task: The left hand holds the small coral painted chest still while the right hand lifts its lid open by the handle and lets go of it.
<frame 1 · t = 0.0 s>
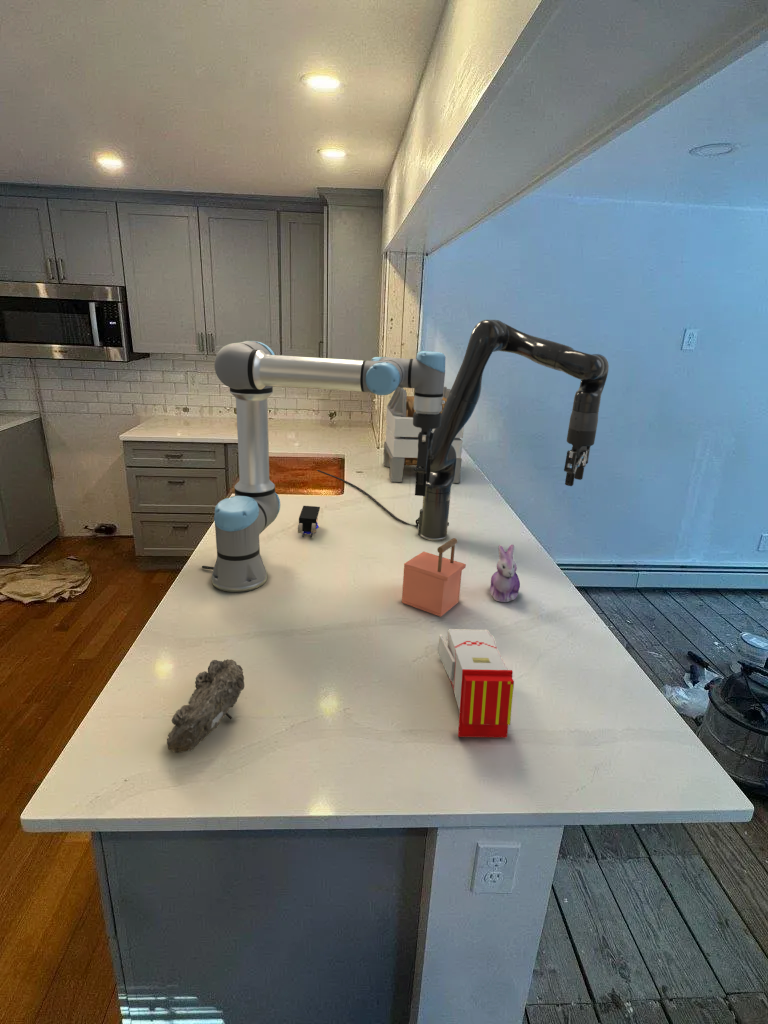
left hand: (422, 488, 158), 28 cm above the counter, tool pointing down, fingers open, 13 cm apart
right hand: (573, 482, 165), 29 cm above the counter, tool pointing down, fingers open, 8 cm apart
chest: (430, 602, 154), on the counter
figurine character: (309, 532, 198), on the counter
figurine: (504, 595, 160), on the counter
toy: (469, 691, 119), on the counter
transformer: (419, 473, 275), on the counter
lid: (435, 553, 149), point 15 cm above the counter, hinge at 0.0°
fossil: (212, 717, 108), on the counter
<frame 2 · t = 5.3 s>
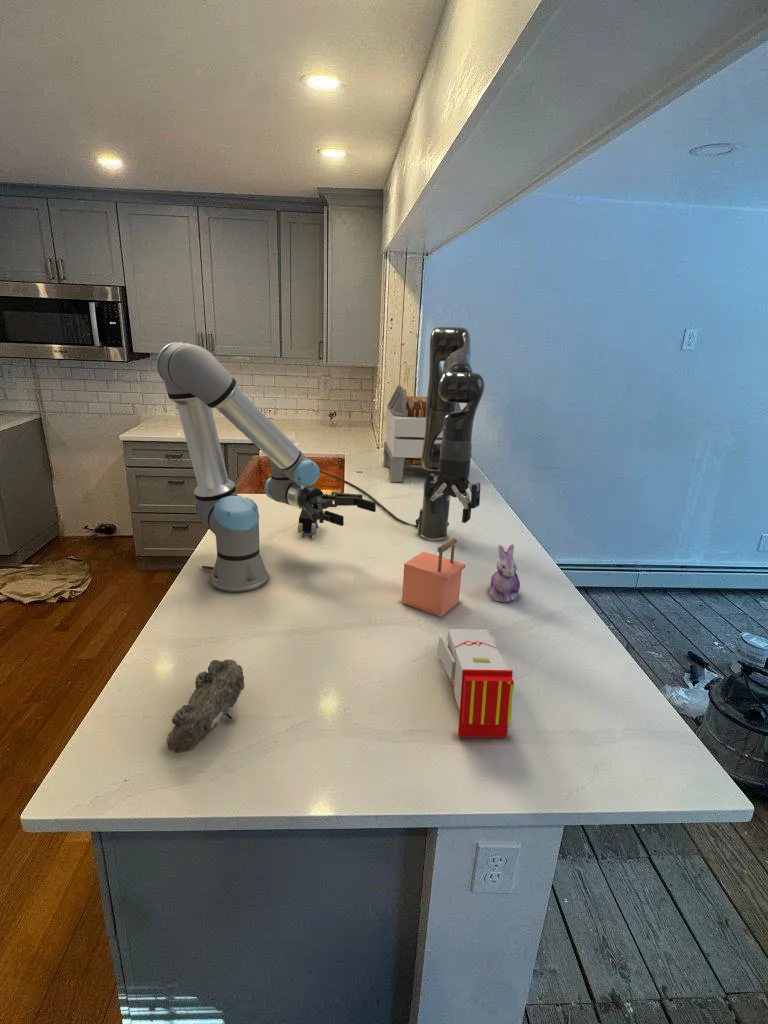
left hand: (359, 514, 158), 20 cm above the counter, tool horizontal, fingers open, 13 cm apart
right hand: (449, 518, 144), 25 cm above the counter, tool pointing down, fingers open, 8 cm apart
nothing on the counter moved.
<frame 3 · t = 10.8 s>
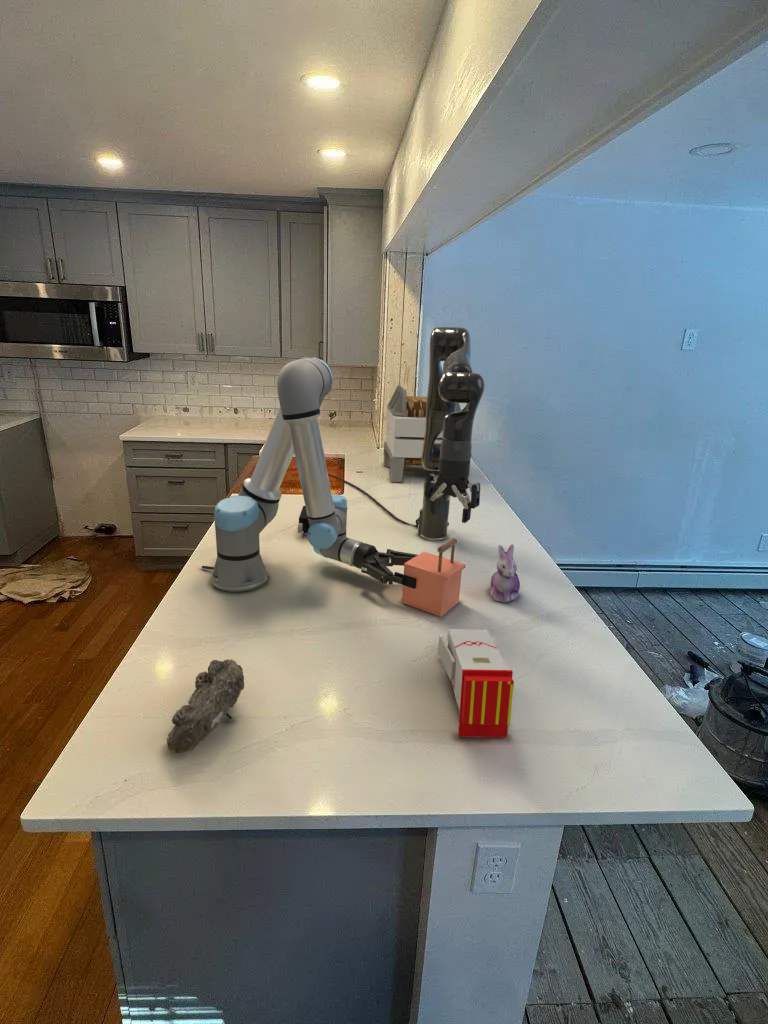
left hand: (425, 576, 153), 7 cm above the counter, tool horizontal, fingers closed on chest, 10 cm apart
right hand: (449, 518, 144), 25 cm above the counter, tool pointing down, fingers open, 8 cm apart
chest: (430, 602, 154), on the counter, touching left hand
everything else where it was.
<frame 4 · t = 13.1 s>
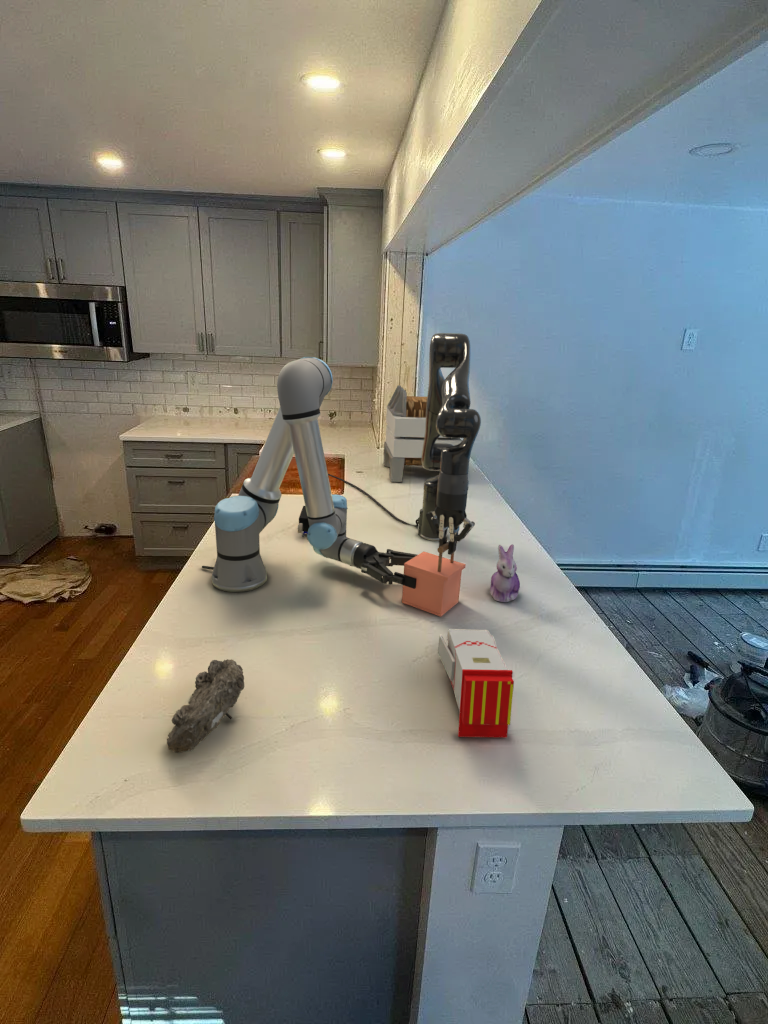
left hand: (425, 576, 153), 7 cm above the counter, tool horizontal, fingers closed on chest, 10 cm apart
right hand: (447, 552, 147), 16 cm above the counter, tool pointing down, fingers closed on lid
chest: (430, 602, 154), on the counter, touching left hand
lid: (436, 553, 149), point 15 cm above the counter, hinge at -0.1°, touching right hand
everything else where it was.
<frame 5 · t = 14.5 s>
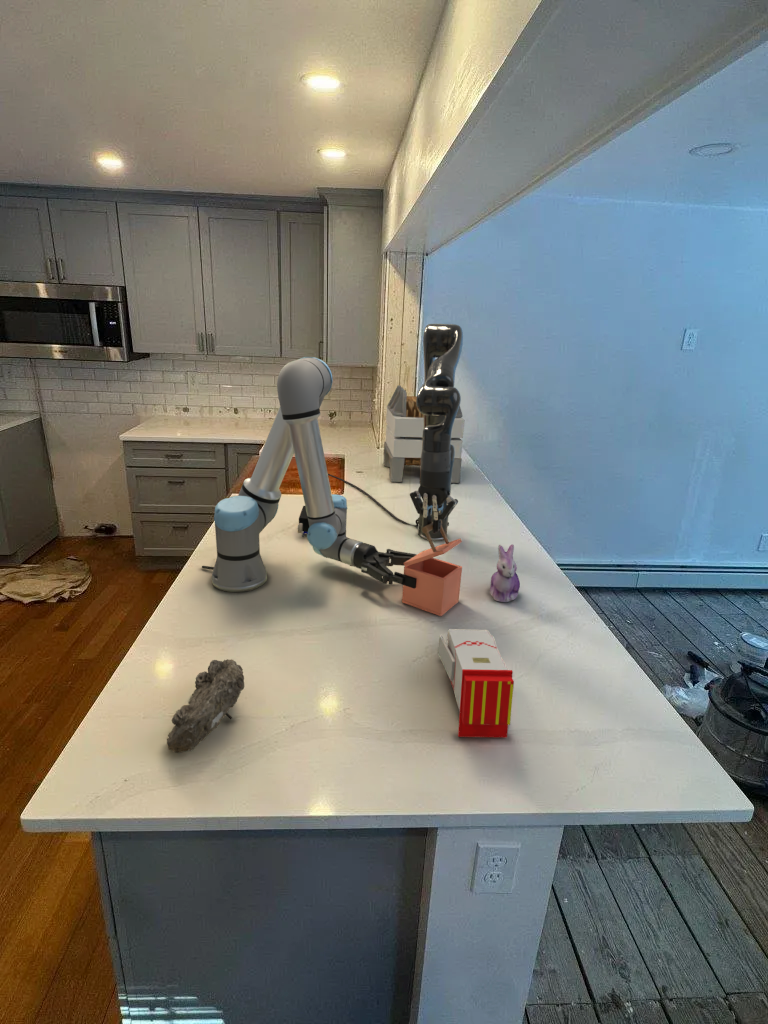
left hand: (425, 576, 153), 7 cm above the counter, tool horizontal, fingers closed on chest, 10 cm apart
right hand: (431, 531, 148), 20 cm above the counter, tool pointing down, fingers closed on lid
chest: (430, 601, 154), on the counter, touching left hand
lid: (427, 540, 150), point 18 cm above the counter, hinge at 31.8°, touching right hand
everything else where it was.
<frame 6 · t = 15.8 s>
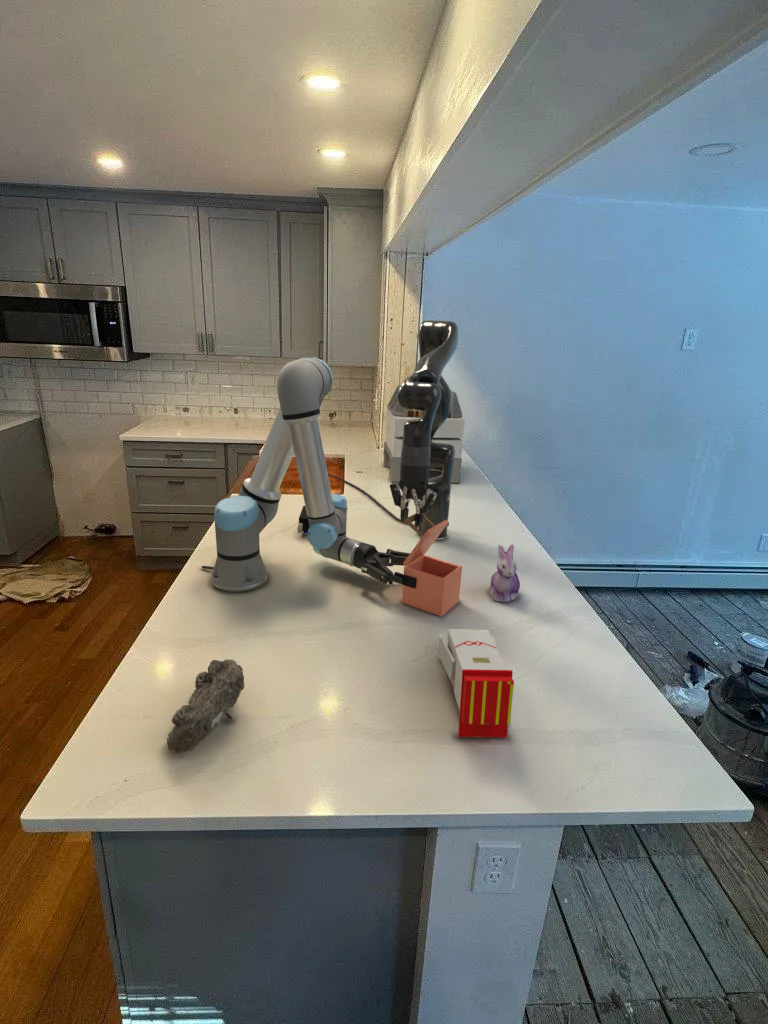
left hand: (425, 576, 153), 7 cm above the counter, tool horizontal, fingers closed on chest, 10 cm apart
right hand: (411, 523, 151), 21 cm above the counter, tool pointing down, fingers open, 3 cm apart
chest: (430, 602, 154), on the counter, touching left hand
lid: (416, 533, 151), point 19 cm above the counter, hinge at 59.4°
everything else where it was.
when the left hand's fingers open (7 cm above the counter, at t = 19.8 s): chest stays where it is, on the counter.
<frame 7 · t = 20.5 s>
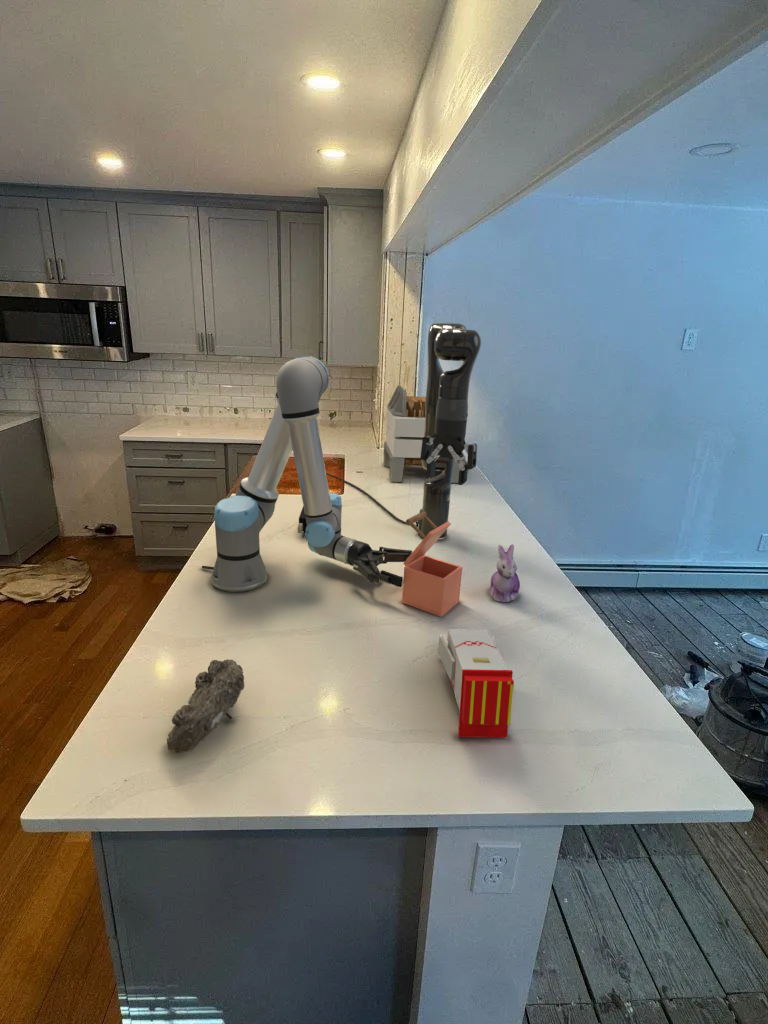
left hand: (415, 573, 154), 7 cm above the counter, tool horizontal, fingers open, 13 cm apart
right hand: (446, 480, 142), 35 cm above the counter, tool pointing down, fingers open, 8 cm apart
chest: (430, 602, 154), on the counter
lid: (418, 534, 151), point 19 cm above the counter, hinge at 56.7°
everything else where it was.
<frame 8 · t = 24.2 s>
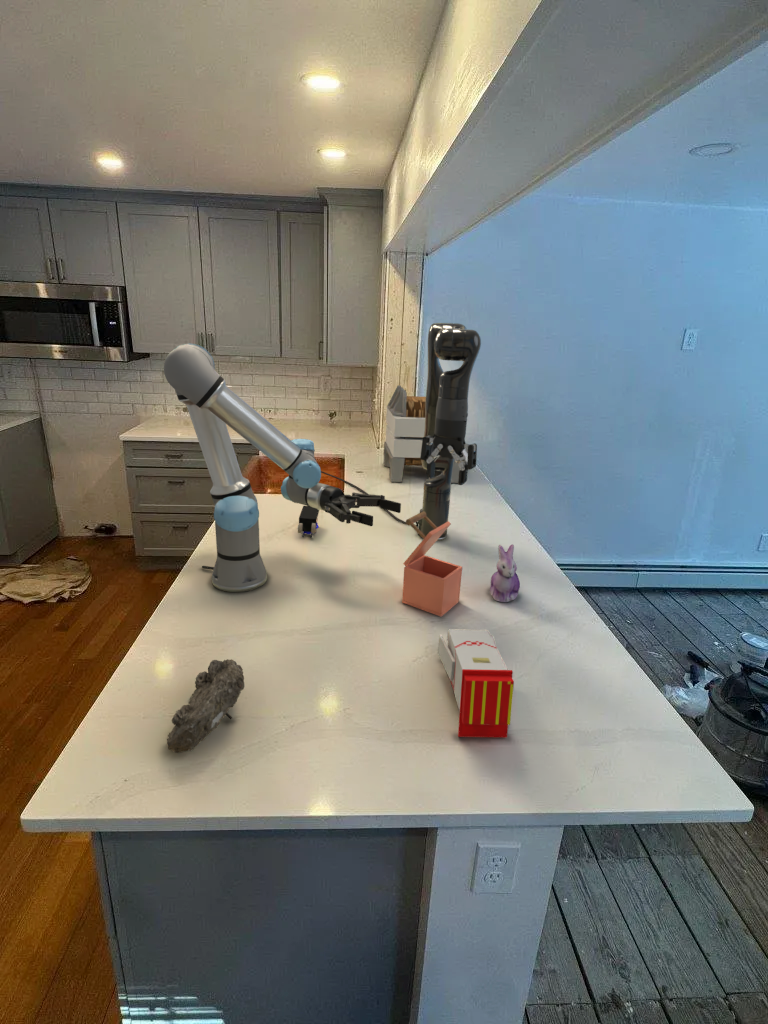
left hand: (386, 514, 155), 22 cm above the counter, tool horizontal, fingers open, 13 cm apart
right hand: (446, 480, 142), 35 cm above the counter, tool pointing down, fingers open, 8 cm apart
nothing on the counter moved.
at the end: lid at +57° (first picture: +0°); the left hand is holding nothing; the right hand is holding nothing; chest tilted 0°; chest never tilted more than 1° during the clip; chest moved 0.1 cm from its start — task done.
